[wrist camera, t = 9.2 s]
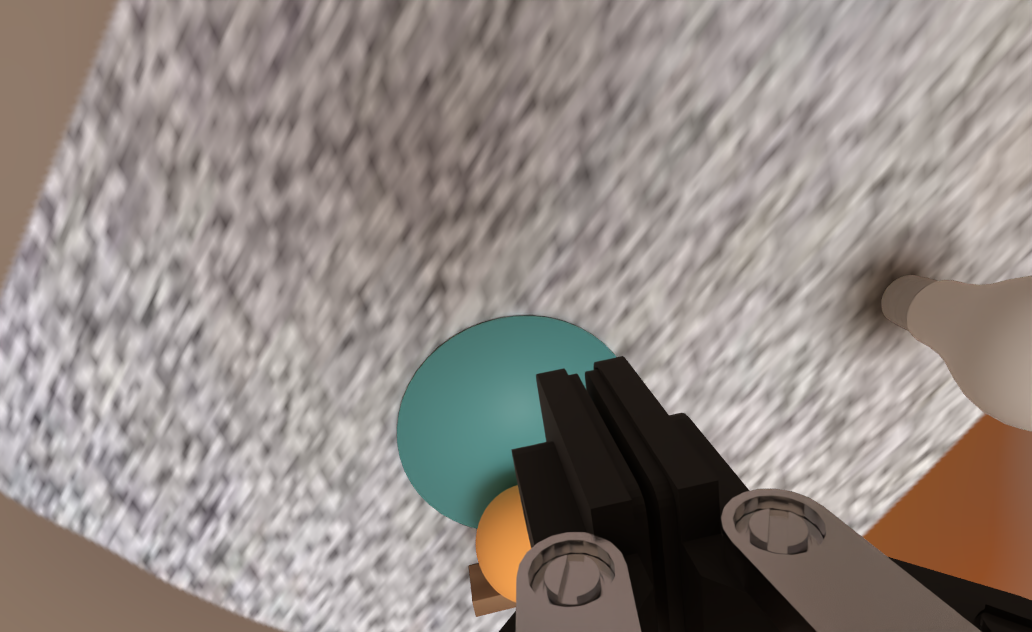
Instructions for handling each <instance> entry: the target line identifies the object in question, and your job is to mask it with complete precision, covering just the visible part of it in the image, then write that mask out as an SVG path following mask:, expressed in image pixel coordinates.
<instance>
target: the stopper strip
mask: <svg viewBox="0 0 1032 632" xmlns="http://www.w3.org/2000/svg"><path fill="white" fill-rule="evenodd" d="M469 573H470V583H471V593H472V602H473V606H474V611H475V615H476V617H478V616H482V615H486V614H490V613H494V612H498V611H502V610H506V609H510V608H514V607H516V602H513V601H511V600H509V599H507V598H505V597H503V596H502V595H501V594H499V593H498V592H497V591H496V590H495V589H494V588H493V587H492V586H491V585H490V583H489V582H488V581H487V579H486V578H485V576H484V574H483V573H482V570H481V568H480V566H479V564H474V565H470V566H469Z"/></svg>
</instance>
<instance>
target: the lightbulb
mask: <svg viewBox="0 0 1032 632" xmlns="http://www.w3.org/2000/svg"><path fill="white" fill-rule="evenodd" d="M881 306H882V311H883V314H884V316H885V317H886V318H887V319H888V320H890V321H892V322H894V323H895V324H896V325H898V326H900V327H902V328H904V329H906V330H908V331H909V332H910V333H911V335H912V336H913V337H914V338H915V339H916V340H918V341H920V342H922V343H923V344H925V345H927V346H929V347H930V348H931V349H933V350H934V351H935V352H936V353H938V354H939V355H940V357H941V358H942V359H943V360H944V361H945V363H946V365H947V367H948V369H949V371H950V373H951V375H952V376H953V378H954V380H955V381H956V383H957V384H958V386H959V387H960V389H961V390H962V392H963V394H964V395H965V396H966V397H967V398H968V399H969V400H970V401H971V402H973V403H974V404H975V405H976V406H977V407H978V408H979V409H980V410H982V411H983V412H984V413H986V414H988V415H990V416H992V417H994V418H995V419H997V420H999V421H1001V422H1003V423H1005V424H1007V425H1011V426H1014V427H1017V428H1020V429H1024V430H1028V431H1032V276H1026V277H1020V278H1015V279H1009V280H1004V281H1001V282H997V283H993V284H983V285H976V284H967V283H962V282H958V281H954V280H941V281H937V280H934V279H929V278H926V277H920V276H916V275H905V276H902V277H900V278H898V279H896V280H895V281H893V282H892V283H891V284H890V285H889V286H888V287H887V289H886V290H885V292H884V294H883V297H882V301H881Z"/></svg>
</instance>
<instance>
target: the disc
mask: <svg viewBox="0 0 1032 632" xmlns="http://www.w3.org/2000/svg"><path fill="white" fill-rule="evenodd" d="M611 358H616V356H615V355H614V353H613V352H612V351H611V350H610V349H609V348H608V347H607V346H606V345H605V344H604V343H603V342H601V341H600V340H599V339H597V338H596V337H595V336H593V335H592V334H590V333H589V332H587V331H585V330H583V329H582V328H580V327H578V326H575V325H573V324H570V323H568V322H565V321H562V320H557V319H553V318H549V317H541V316H511V317H504V318H498V319H494V320H490V321H487V322H483V323H481V324H478V325H476V326H473V327H471V328H468V329H466V330H464V331H463V332H461V333H459V334H457V335H455V336H454V337H452V338H451V339H449V340H448V341H447V342H445V343H444V344H442V345H441V346H440V347H439V348H437V349H436V350H435V351H434V352H433V353H432V354H431V355H430V356H429V357H428V358H427V359H426V360H425V362H424V363H423V364H422V365H421V367H420V368H419V369H418V370H417V372H416V373H415V375H414V377H413V378H412V380H411V382H410V383H409V385H408V387H407V390H406V392H405V394H404V397H403V399H402V403H401V407H400V411H399V416H398V424H397V444H398V450H399V455H400V459H401V462H402V465H403V468H404V471H405V473H406V475H407V476H408V478H409V480H410V482H411V484H412V485H413V487H414V488H415V489H416V491H417V492H418V493H419V495H420V496H421V497H422V498H423V499H424V500H425V501H426V502H427V503H428V504H429V505H430V506H432V507H433V508H434V509H436V510H437V511H438V512H440V513H441V514H443V515H445V516H446V517H448V518H450V519H452V520H454V521H456V522H458V523H461V524H463V525H466V526H469V527H473V528H476V529H478V525H479V522H480V519H481V517H482V515H483V513H484V511H485V509H486V508H487V507H488V505H489V504H490V503H491V502H492V501H493V500H494V498H495V497H497V496H498V495H499V494H500V493H502V492H503V491H505V490H507V489H508V488H511V487H513V486H516V485H518V484H517V479H516V473H515V468H514V463H513V457H512V451H511V449H516V448H521V447H525V446H530V445H534V444H539V443H544V442H546V437H545V431H544V425H543V419H542V413H541V407H540V400H539V394H538V388H537V382H536V374H539V373H544V372H548V371H553V370H558V369H563V368H565V370H566V371H567V373H568V375H571V374H576V373H577V374H578V375H579V377H580V379H581V381H582V383H583V385H584V386H585V388H586V383H585V372H586V371H591V370H594V369H593V366H594V362H597V361H602V360H607V359H611Z"/></svg>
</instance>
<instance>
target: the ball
mask: <svg viewBox="0 0 1032 632" xmlns="http://www.w3.org/2000/svg"><path fill="white" fill-rule="evenodd" d="M530 549H531V545H530V541H529V537H528V532H527V528H526V523H525V518H524V514H523V509H522V504H521V499H520V494H519V489H518V485H516V486H513V487H511V488H508V489H507V490H505V491H503V492H502V493H500V494H499V495H498V496H497V497H495V498H494V500H493V501H492V502H491V503H490V504H489V505H488V507H487V508H486V509H485V511H484V513H483V515H482V517H481V519H480V522H479V525H478V529H477V534H476V553H477V558H478V562H479V566H480V568H481V570H482V573H483V574H484V576H485V578H486V579H487V581H488V582H489V583H490V585H491V586H492V587H493V588H494V589H495V590H496V591H497V592H498V593H499V594H501V595H502V596H503V597H505V598H507V599H509V600H511V601H513V602H516V577H517V572H518V567H519V564H520V562H521V561H522V559H523V557H524V556H525V554H526V553H527V552H528V551H529V550H530Z"/></svg>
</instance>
